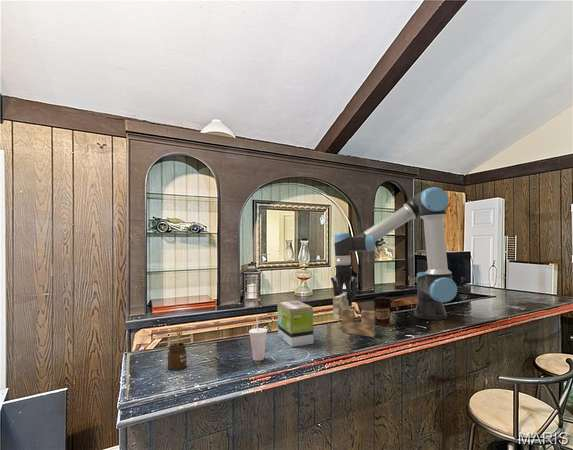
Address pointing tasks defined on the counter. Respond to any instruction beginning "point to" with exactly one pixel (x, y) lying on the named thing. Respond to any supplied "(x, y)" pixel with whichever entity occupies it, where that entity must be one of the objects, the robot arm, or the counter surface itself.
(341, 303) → the maple plate
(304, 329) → the tea box
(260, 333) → the smoothie
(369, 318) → the walnut board
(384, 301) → the coffee cup
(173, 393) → the counter surface
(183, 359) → the utensil holder
